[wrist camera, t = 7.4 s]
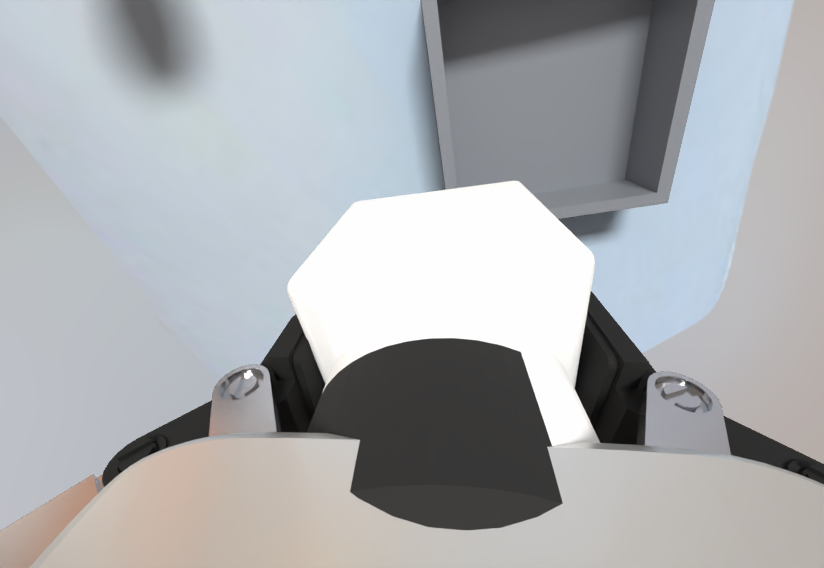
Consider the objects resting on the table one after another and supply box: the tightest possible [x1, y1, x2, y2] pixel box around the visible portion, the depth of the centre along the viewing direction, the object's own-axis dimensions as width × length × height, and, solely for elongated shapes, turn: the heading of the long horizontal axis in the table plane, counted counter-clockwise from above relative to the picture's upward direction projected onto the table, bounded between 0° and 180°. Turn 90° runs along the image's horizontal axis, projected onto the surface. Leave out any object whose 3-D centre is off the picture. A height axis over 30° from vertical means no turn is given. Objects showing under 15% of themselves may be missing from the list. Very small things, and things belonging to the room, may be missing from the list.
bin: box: [421, 0, 715, 219], centre depth 25 cm, size 18×18×6 cm
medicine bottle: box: [287, 181, 600, 530], centre depth 9 cm, size 7×7×12 cm
